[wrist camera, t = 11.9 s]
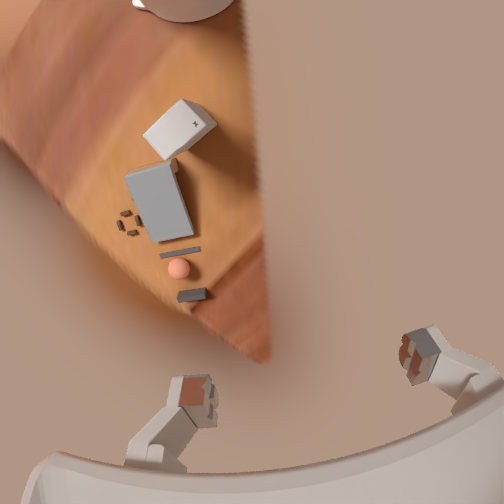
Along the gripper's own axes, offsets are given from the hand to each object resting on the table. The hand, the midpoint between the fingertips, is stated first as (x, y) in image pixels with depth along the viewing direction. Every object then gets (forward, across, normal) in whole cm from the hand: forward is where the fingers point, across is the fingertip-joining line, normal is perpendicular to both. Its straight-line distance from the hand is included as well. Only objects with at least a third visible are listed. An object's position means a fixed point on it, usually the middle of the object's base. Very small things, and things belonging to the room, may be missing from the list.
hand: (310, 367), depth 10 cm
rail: (+34, +15, +17) cm, 41 cm away
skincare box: (+34, +8, -10) cm, 37 cm away
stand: (+34, +22, +2) cm, 41 cm away
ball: (+31, +15, +12) cm, 36 cm away
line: (+34, +15, +9) cm, 38 cm away
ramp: (+34, +15, 0) cm, 37 cm away
